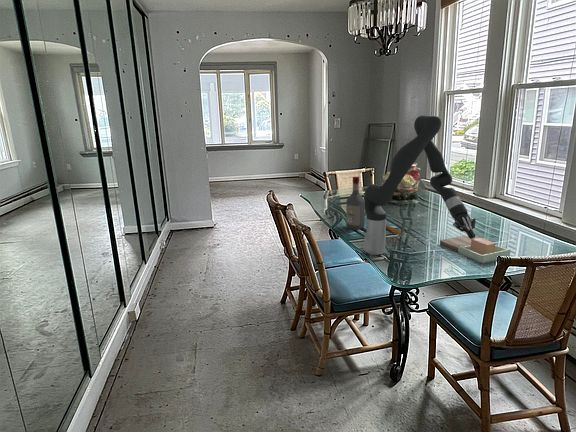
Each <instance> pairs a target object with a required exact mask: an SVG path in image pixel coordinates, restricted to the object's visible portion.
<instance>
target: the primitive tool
mask: <svg viewBox="0 0 576 432" xmlns="http://www.w3.org/2000/svg"><path fill="white" fill-rule="evenodd" d="M386 231H388V232H390V233H391V234H393V235H394V236H395V235H396V236H397V235H401V234H404V232H403V231H400V230H398V229H396V228H395V227H392V226H390V225H388V224H387V223H386Z"/></svg>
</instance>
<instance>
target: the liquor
mask: <svg viewBox="0 0 576 432" xmlns="http://www.w3.org/2000/svg"><path fill="white" fill-rule="evenodd" d="M345 206H346V207H345V209H346V213H345V214H346V216H345V218H346V220H345V222H346V223H345V224H346V228H347V229H349V230H354V231H359V230H358V229H360V230H362V229H363V228H365V224H366V222H365V220H366V219H365V216H366V215H365V214H366V212H365V197H363V196H362V195H361V194H360V177H359V176H352V192H351V194H350V196H348V197H347V199H346V205H345ZM361 228H362V229H361Z"/></svg>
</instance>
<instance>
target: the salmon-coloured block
mask: <svg viewBox="0 0 576 432" xmlns="http://www.w3.org/2000/svg"><path fill="white" fill-rule="evenodd" d="M495 245H497V244H496V242H493V241H491V240H488V239H485V238H482V237H474V238H473V239H471V248H470V250H471V251H473V252H476V253H478V254H480V255H485V254H489V253H494V252H495Z"/></svg>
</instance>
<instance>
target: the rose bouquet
mask: <svg viewBox="0 0 576 432" xmlns="http://www.w3.org/2000/svg"><path fill="white" fill-rule="evenodd" d="M417 166H418V162H416V163H414V164H413V165H412V166H411V168H410V169H409V170H408V172H407V173H406V175H405V176H404V178H403V179H402V181H401V182H400V184H399V185H398V187H397V189H396V191H395V192H394V194H393V196H392V198H391V199H390V201H389V202H388V203H394V204H396V205H398V206H403V205H404V206H405V205H410V204H416V203H420V202H421V199H420V198H419V192H416V191H418V190H419V189H418V188H419V185H420V182H421V181H420V178H422V175H421V176H420V173H419V171H421V168H420V167H417ZM389 174H390V171H387V172H386V173H385V175H383V176H382V180H381V183H382V184H381V186H382V185H383V184H384V183H385V181H386V180H387V178H388V177H389Z"/></svg>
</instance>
